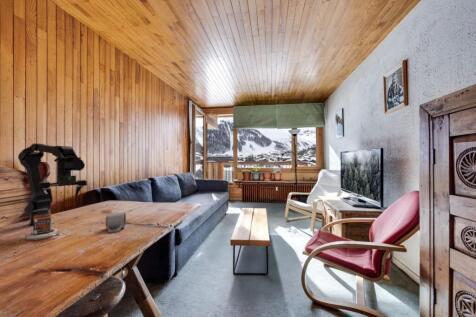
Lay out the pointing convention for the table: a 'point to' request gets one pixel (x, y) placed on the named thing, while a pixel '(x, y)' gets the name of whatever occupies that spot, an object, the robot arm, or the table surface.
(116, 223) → the ceramic mug
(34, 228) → the supplement bottle
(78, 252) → the table surface
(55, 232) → the ring seat
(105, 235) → the table surface
